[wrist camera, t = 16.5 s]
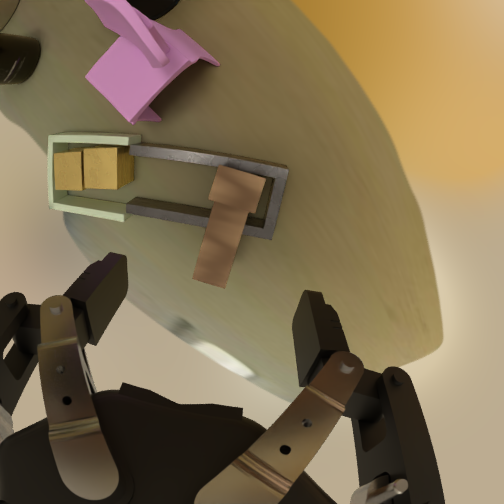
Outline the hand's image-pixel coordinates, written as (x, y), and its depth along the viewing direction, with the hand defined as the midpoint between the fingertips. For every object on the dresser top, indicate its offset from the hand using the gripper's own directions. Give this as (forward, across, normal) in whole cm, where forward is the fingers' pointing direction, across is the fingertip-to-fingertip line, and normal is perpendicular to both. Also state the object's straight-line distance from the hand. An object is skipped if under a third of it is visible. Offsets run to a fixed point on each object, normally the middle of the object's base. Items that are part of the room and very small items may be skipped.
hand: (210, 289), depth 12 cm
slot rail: (+17, +4, 0) cm, 18 cm away
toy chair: (+17, +9, -11) cm, 22 cm away
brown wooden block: (+14, 0, -2) cm, 15 cm away
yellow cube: (+17, +18, 0) cm, 25 cm away
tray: (+17, +16, 0) cm, 24 cm away
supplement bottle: (+18, +32, -15) cm, 39 cm away
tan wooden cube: (+17, +13, -1) cm, 22 cm away
